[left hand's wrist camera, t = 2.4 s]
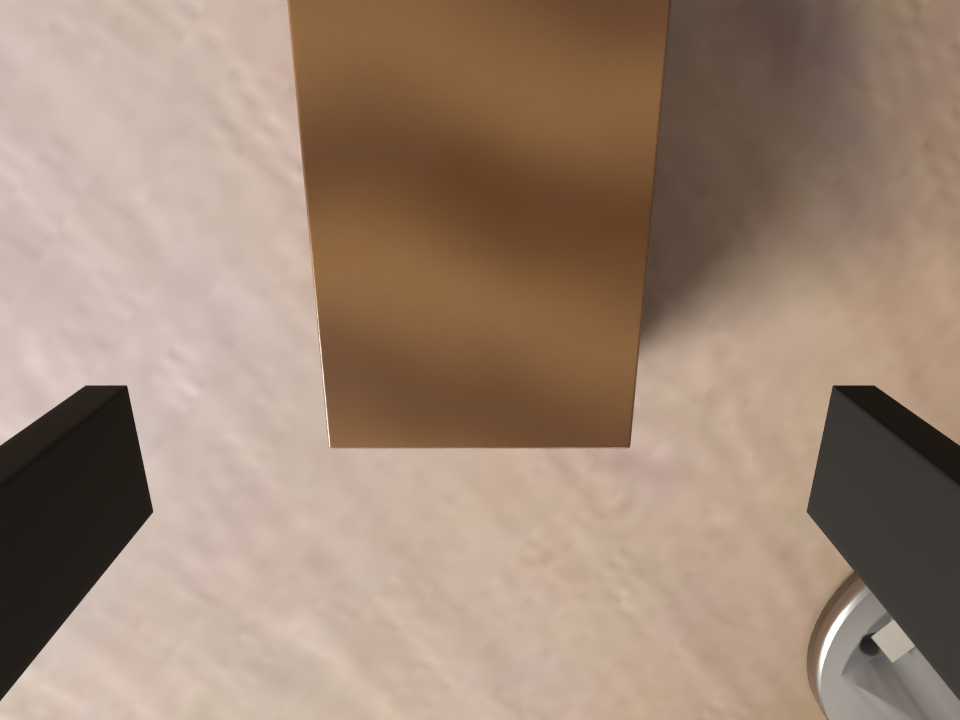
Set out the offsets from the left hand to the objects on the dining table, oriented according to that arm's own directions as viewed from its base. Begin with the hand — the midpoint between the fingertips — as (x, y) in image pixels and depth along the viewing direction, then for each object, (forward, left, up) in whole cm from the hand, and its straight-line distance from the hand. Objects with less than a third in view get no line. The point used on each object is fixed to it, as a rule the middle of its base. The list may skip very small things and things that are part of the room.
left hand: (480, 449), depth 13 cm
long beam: (+28, -12, -15) cm, 34 cm away
